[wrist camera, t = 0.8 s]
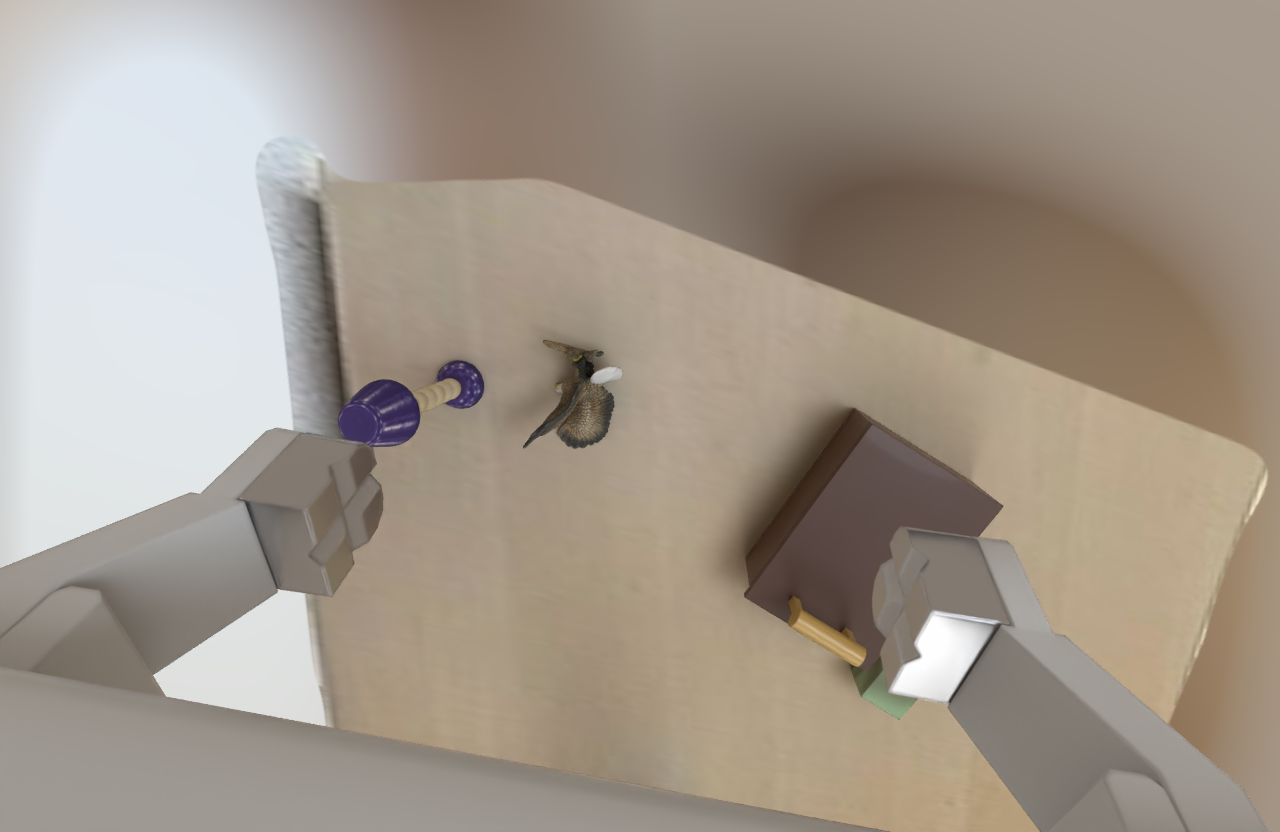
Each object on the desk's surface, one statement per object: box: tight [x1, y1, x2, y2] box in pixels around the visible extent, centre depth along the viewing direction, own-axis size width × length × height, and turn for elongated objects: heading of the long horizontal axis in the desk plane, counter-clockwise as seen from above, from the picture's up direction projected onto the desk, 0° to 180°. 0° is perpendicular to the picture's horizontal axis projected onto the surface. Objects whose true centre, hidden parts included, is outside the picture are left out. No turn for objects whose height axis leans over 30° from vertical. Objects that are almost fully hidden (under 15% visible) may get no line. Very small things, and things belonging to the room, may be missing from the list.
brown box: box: [745, 408, 999, 585], centre depth 54 cm, size 16×12×5 cm
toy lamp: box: [338, 361, 484, 447], centre depth 49 cm, size 5×5×17 cm
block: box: [851, 656, 917, 720], centre depth 57 cm, size 4×4×4 cm
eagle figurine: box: [523, 340, 623, 449], centre depth 53 cm, size 8×7×9 cm
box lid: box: [744, 422, 1003, 672], centre depth 49 cm, size 17×12×4 cm
